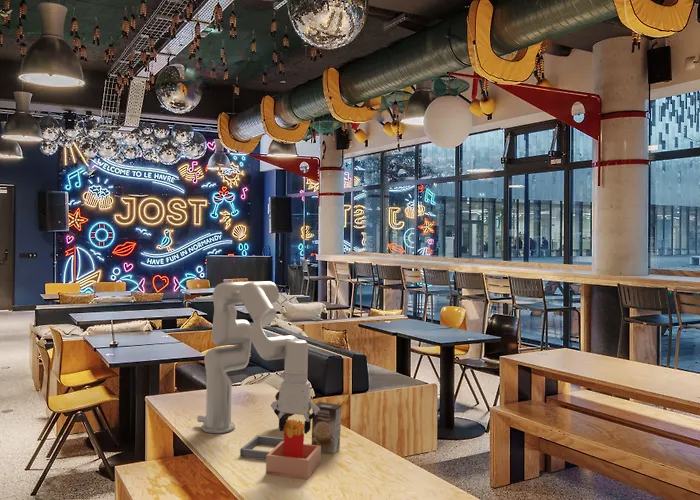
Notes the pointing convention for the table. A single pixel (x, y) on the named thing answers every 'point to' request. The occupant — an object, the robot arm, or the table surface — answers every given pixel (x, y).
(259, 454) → the gray rectangular frame
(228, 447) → the table surface
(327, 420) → the coffee box
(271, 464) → the pink open box
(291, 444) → the french fries
